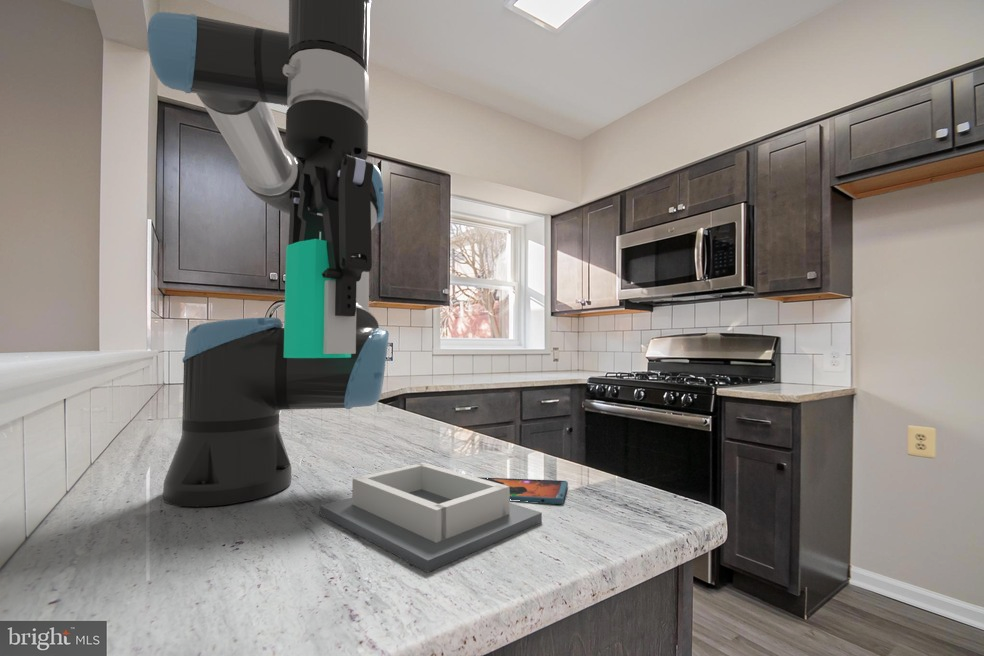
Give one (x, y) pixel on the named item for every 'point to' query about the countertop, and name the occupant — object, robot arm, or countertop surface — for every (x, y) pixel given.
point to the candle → (305, 300)
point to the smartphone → (534, 489)
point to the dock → (429, 513)
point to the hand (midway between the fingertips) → (323, 352)
